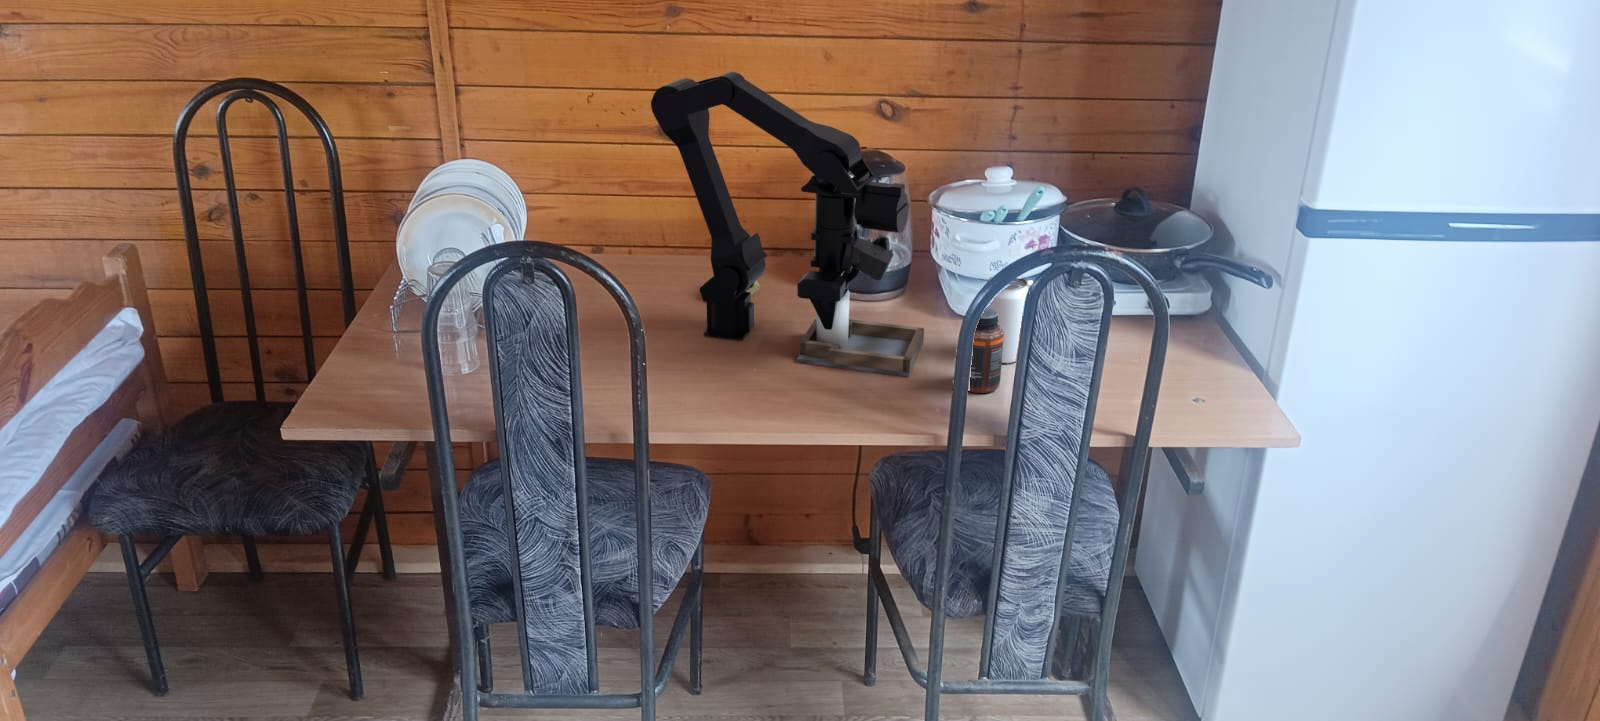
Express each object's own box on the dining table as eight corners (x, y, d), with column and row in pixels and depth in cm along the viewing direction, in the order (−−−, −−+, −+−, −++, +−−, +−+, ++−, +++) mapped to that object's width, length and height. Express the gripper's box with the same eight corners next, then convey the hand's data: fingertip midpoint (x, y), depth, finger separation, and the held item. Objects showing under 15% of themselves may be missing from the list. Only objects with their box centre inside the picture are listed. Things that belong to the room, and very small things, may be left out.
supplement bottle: (1003, 380, 165) (1010, 307, 161) (995, 397, 160) (1002, 323, 156) (962, 373, 167) (967, 301, 162) (953, 391, 162) (958, 317, 157)
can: (1022, 366, 169) (1030, 291, 164) (977, 362, 171) (984, 287, 166) (1023, 349, 175) (1031, 275, 170) (980, 345, 176) (986, 271, 171)
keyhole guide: (796, 362, 170) (797, 346, 169) (817, 330, 180) (817, 315, 179) (909, 376, 166) (910, 360, 165) (923, 343, 177) (924, 328, 175)
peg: (812, 345, 172) (813, 295, 169) (820, 333, 176) (821, 284, 173) (844, 349, 171) (845, 299, 168) (851, 336, 175) (852, 287, 172)
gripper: (876, 250, 156) (871, 354, 162) (901, 209, 172) (896, 305, 179) (796, 241, 158) (795, 345, 165) (829, 202, 175) (827, 297, 181)
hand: (832, 322), depth 172 cm, fingers closed on peg, 5 cm apart
